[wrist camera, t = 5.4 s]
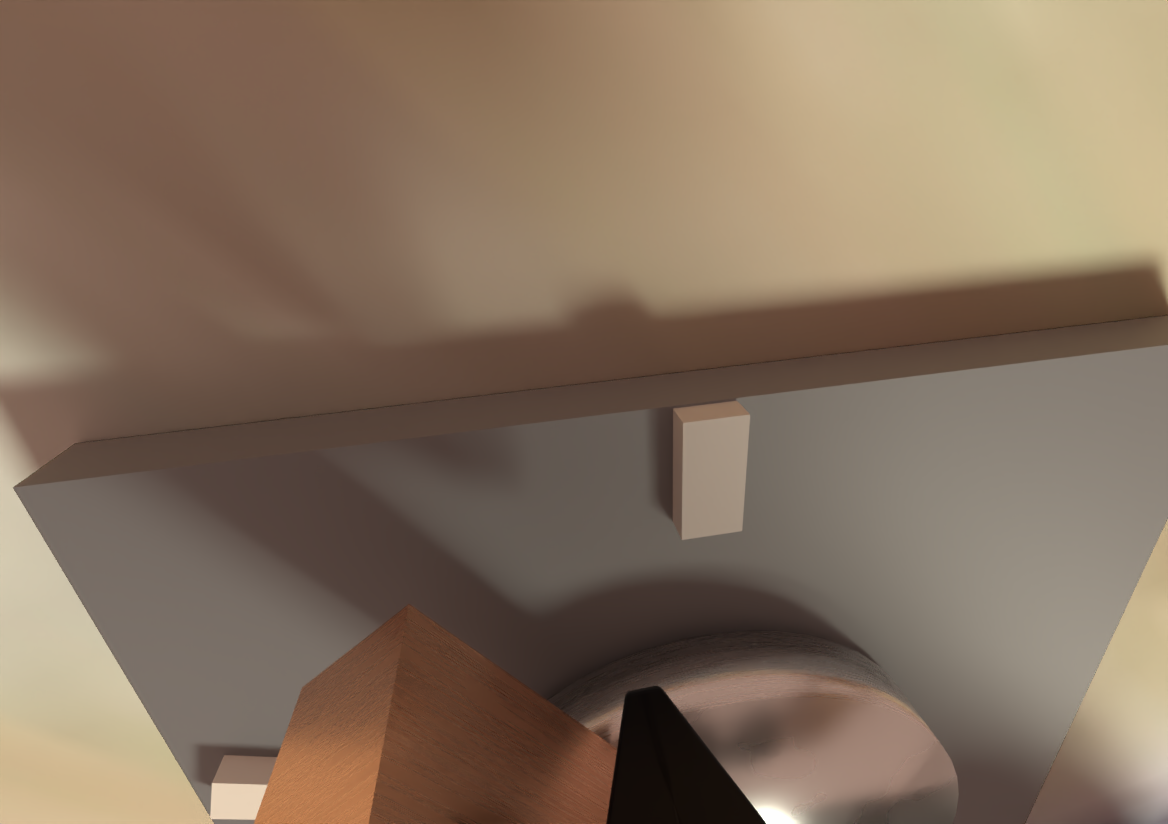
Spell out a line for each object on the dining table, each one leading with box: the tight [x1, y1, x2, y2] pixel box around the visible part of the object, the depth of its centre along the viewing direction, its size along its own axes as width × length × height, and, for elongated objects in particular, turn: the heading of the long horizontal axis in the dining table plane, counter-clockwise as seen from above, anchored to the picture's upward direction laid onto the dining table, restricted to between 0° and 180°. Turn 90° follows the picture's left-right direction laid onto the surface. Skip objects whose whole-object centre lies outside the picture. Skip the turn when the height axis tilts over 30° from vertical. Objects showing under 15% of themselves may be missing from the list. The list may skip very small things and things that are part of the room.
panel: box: [13, 315, 1168, 824], centre depth 16 cm, size 23×23×2 cm
